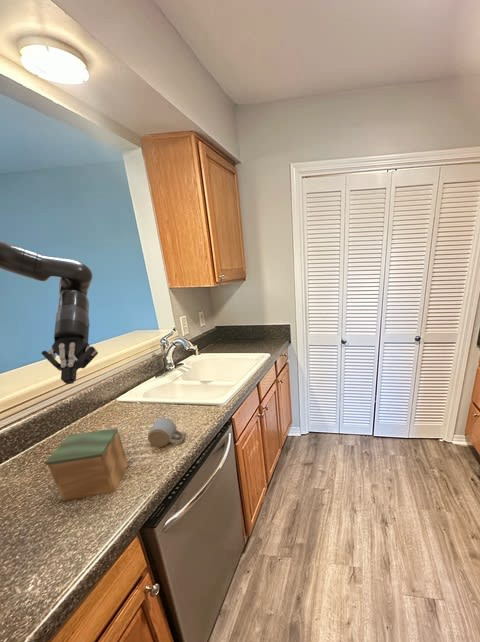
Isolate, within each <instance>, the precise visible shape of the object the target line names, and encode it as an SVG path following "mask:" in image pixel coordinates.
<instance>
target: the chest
mask: <svg viewBox="0 0 480 642" xmlns="http://www.w3.org/2000/svg"><path fill="white" fill-rule="evenodd" d="M128 466H129V463H128V459H127V456H126V452H125V448H124V446H123V443H122V439H121V436H120V431H119V430H118V431H117V433H116V435H115V436H114V438H113V439H112V441H111V443H110V444H109V446H108V448H107V449H106V451H105V453H104V454H103V456H102V457H96V458H90V459H83V460H77V461H70V462H64V463H57V464H51V465H47V467H48V468H49V471H50V473H51V476H52V478H53V481H54V483H55V485H56V487H57V490H58V493H59V495H60V497H61V500H62V501H69V500H75V499H81V498H87V497H93V496H98V495H105V494H109V493H116V491H117V489H118V488H119V485H120V483H121V480H122V478H123V476H124V474H125V472H126V470H127V467H128Z"/></svg>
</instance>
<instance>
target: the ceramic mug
mask: <svg viewBox="0 0 480 642" xmlns="http://www.w3.org/2000/svg"><path fill="white" fill-rule="evenodd" d="M175 435H177V436H179V437H180V439H173V438H174V436H175ZM184 439H185V435H184V433H182V432H181V431H180V430H177V425H176V423H175V422H174V421H173V420H171V419H169V418H167V417H162V418H158V419H156V420H155V421H154V423H153V425H152V426H151V428H150V430H149V431H148V435H147V440H148V442H149V444H151V445H152V446H154V447H157V448H162V447H165V446H167V445H169V443H171V444H175V445H176V444H181V443H183V441H184Z"/></svg>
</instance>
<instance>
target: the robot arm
mask: <svg viewBox="0 0 480 642" xmlns="http://www.w3.org/2000/svg"><path fill="white" fill-rule="evenodd" d="M0 270H3V271H6V272H9V273H12V274H15V275H18V276H22V277H26V278H28V279H32V280H35V281H39V282H46V281H48V280H49V279H50V278H52V277H58V278H59V283H58V292H59V297H58V306H57V312H56V315H55V323H54V332H53V333H54V335H53V340H54V341H53V343H52V345H51V348H50V349H49V350H43V351H41V355H42V356H43V357H44V358H45V359H46V360H47V361H48V362H49V363H50V364H51V365H52V366H53V367H55V369H57V370H58V371H60V380H61V381H62V382H63V383H64V384H66V385H71V384H74V383H75V382H76V380H77V373H78V372H77V371H78V370H80V369H85V368H86V367H87V366H88V365H89V364H90V363H91V362H92V360H94V358H95V357H97V355H98V354H99V352H98V350H97V349H96V348H95V347H94V346H91V345H90V344H89V337H90V336H89V334H90V327H91V326H90V316H89V314H90V302H89V299H88V292H89V289H90V286H91V283H92V280H93V278H94V277H93V275H94V274H93V272H92V269H90V267H89V266H87V264H85V263H83V262H81V261H78V260H76V259H71V258H64V257H58V256H51V255H43V254H41V253H38V252H35V251H33V250H29V249H26V248H24V247H21V246H18V245H15V244H11V243H8V242H4V241H1V240H0ZM57 356H58V357H59V360H60V362H59V361H57V360H56V357H57Z"/></svg>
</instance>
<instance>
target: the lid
mask: <svg viewBox="0 0 480 642" xmlns="http://www.w3.org/2000/svg"><path fill="white" fill-rule="evenodd" d="M117 431H118V432H119V429H118V427H117V428H109V429H103V430H102V429H101V430H96V431H94V430H93V431H88V432H80V433H74V434H68V436H67V437H66V438H65V439H64V440H63V441H62V442H61V443H60V445H58V447H57V448H56V449H55V450H54V451H53V452H52V454H51V455H50V456H49V457H48V458H47V459H46V460H45V462H44V465H45V466H48V465H51V464H57V463H64V462H70V461H77V460H83V459H90V458H96V457H102V456H103V454H104V453H105V451H106V449H107V448H108V446H109V444H110V443H111V441H112V439H113V438H114V436H115V435H116V433H117Z"/></svg>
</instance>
